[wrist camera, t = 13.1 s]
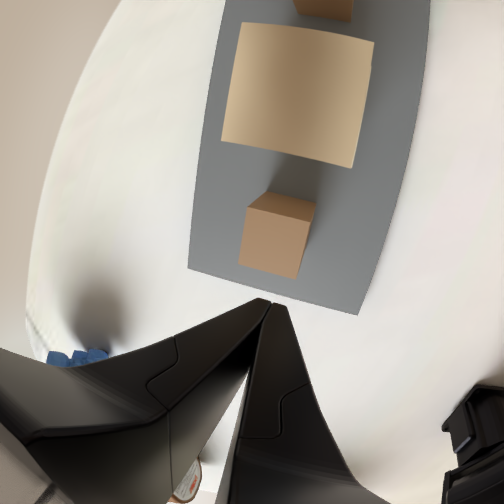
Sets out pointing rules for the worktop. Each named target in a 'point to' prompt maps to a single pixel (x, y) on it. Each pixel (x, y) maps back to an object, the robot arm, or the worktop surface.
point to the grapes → (75, 358)
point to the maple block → (298, 91)
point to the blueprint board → (310, 164)
